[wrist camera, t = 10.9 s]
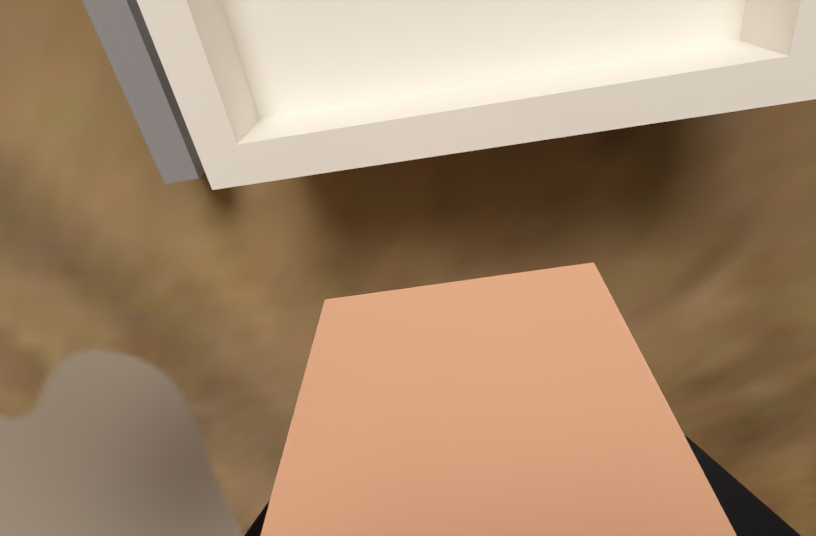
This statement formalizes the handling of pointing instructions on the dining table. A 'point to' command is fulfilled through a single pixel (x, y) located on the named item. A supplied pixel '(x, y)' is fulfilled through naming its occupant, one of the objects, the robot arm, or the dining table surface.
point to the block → (486, 419)
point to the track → (146, 87)
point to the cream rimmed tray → (459, 73)
